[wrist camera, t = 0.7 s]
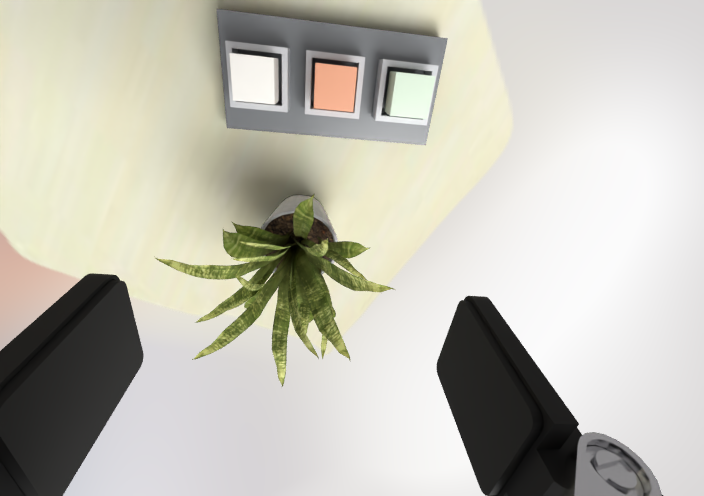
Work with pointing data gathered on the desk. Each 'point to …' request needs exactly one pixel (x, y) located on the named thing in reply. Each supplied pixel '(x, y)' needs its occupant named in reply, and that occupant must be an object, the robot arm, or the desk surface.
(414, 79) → the button
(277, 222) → the house plant
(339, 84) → the button
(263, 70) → the button
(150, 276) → the desk surface
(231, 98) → the panel
